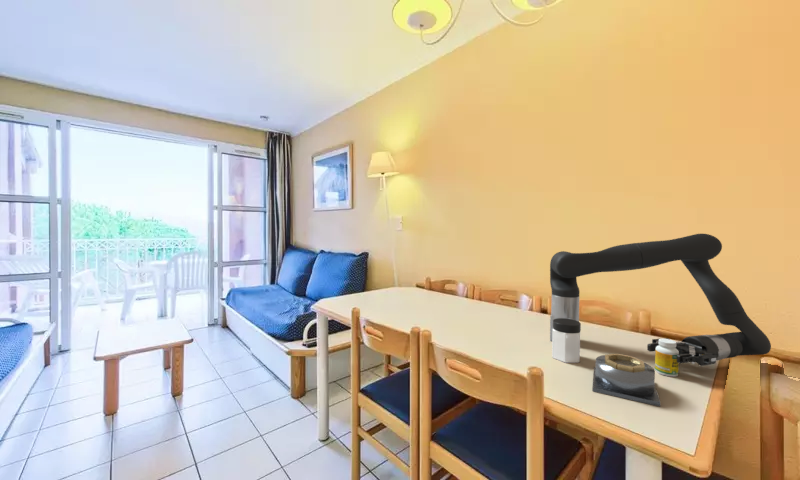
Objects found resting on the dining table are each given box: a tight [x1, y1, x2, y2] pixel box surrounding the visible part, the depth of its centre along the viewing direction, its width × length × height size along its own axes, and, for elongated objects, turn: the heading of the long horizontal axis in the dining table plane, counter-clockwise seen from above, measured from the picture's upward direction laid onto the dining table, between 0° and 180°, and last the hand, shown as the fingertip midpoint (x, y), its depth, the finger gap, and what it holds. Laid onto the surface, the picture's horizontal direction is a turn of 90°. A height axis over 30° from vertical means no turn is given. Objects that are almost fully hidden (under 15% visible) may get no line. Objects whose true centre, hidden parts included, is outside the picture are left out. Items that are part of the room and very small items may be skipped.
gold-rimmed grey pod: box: [591, 353, 661, 407], centre depth 87 cm, size 14×14×7 cm
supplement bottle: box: [654, 338, 680, 378], centre depth 95 cm, size 5×5×10 cm
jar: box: [551, 318, 582, 364], centre depth 106 cm, size 9×8×12 cm
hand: (662, 353), depth 95 cm, fingers open, 8 cm apart
